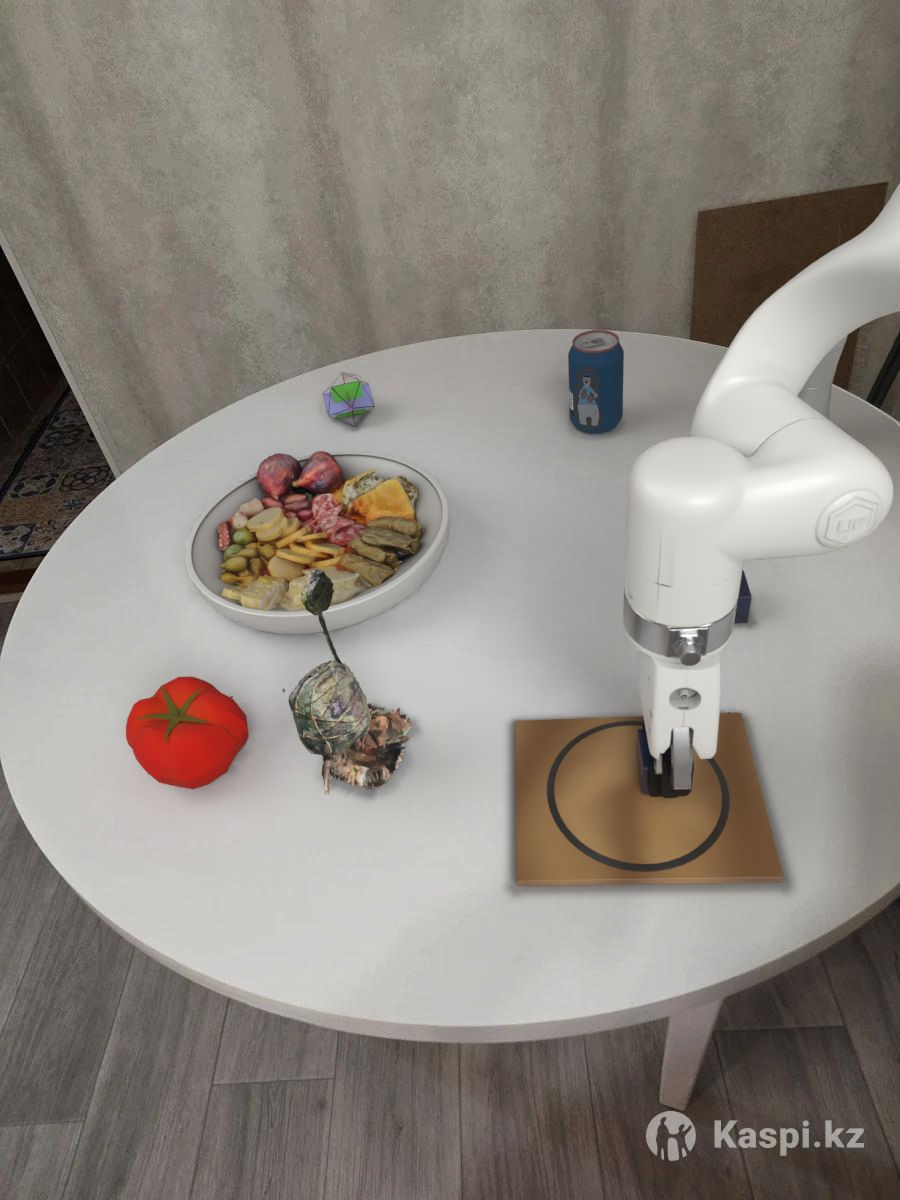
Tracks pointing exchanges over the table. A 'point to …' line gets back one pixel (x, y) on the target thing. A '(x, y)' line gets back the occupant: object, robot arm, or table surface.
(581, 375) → the soda can
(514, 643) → the table surface
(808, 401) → the plastic bottle
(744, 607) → the dark blue block
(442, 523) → the bowl
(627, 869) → the board
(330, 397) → the geometric puzzle
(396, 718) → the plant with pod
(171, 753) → the tomato
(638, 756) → the dark blue cube
